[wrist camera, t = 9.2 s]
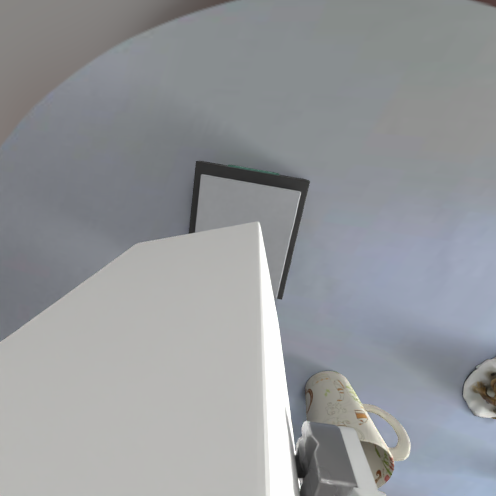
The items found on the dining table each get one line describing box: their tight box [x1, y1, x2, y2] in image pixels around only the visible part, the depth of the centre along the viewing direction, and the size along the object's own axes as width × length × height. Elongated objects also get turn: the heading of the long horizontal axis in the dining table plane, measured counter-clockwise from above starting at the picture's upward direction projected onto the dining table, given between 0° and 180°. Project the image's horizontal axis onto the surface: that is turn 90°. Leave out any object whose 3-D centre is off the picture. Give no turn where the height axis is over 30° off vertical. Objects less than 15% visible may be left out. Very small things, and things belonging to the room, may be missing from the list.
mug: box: [305, 371, 410, 488], centre depth 31 cm, size 8×13×10 cm, turn 83°
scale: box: [189, 161, 310, 299], centre depth 28 cm, size 13×11×3 cm
